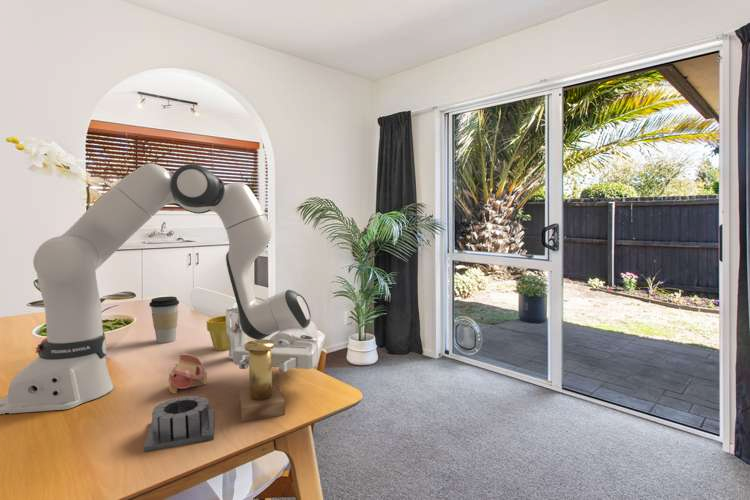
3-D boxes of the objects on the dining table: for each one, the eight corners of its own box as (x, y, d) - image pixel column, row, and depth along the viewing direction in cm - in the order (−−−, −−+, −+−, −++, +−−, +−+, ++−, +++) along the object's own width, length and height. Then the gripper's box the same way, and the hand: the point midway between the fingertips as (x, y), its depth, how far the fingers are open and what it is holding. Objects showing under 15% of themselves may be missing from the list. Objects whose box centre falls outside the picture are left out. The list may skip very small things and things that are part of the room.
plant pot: (200, 350, 137) (199, 320, 136) (223, 341, 146) (222, 314, 146) (225, 354, 133) (224, 323, 132) (247, 345, 142) (246, 316, 142)
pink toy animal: (155, 395, 104) (165, 359, 110) (194, 404, 109) (202, 370, 115) (172, 383, 99) (182, 346, 105) (211, 393, 104) (218, 357, 111)
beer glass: (243, 361, 126) (241, 312, 125) (222, 360, 127) (220, 311, 126) (254, 354, 133) (253, 307, 131) (234, 353, 134) (232, 306, 133)
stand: (241, 421, 89) (241, 407, 89) (239, 404, 97) (239, 391, 97) (284, 414, 92) (284, 401, 92) (279, 398, 100) (278, 385, 100)
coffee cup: (172, 344, 143) (170, 301, 142) (145, 344, 143) (143, 301, 142) (185, 336, 153) (183, 296, 151) (159, 336, 153) (157, 296, 152)
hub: (143, 451, 78) (142, 425, 77) (153, 422, 89) (151, 399, 88) (213, 439, 82) (212, 414, 81) (214, 412, 93) (213, 390, 93)
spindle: (247, 404, 90) (245, 349, 89) (245, 392, 96) (243, 341, 95) (277, 399, 92) (276, 346, 92) (273, 388, 98) (272, 338, 98)
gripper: (247, 334, 110) (218, 350, 96) (323, 338, 106) (304, 355, 93) (248, 358, 110) (219, 377, 97) (323, 362, 107) (304, 383, 93)
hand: (261, 367), depth 95 cm, fingers open, 8 cm apart
